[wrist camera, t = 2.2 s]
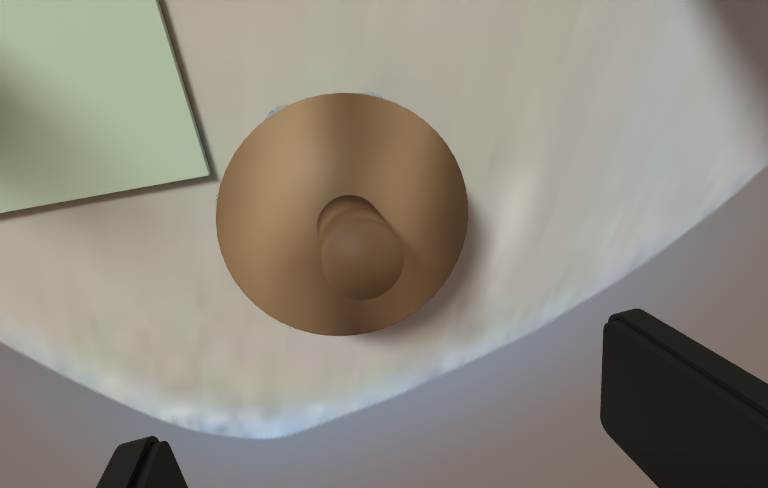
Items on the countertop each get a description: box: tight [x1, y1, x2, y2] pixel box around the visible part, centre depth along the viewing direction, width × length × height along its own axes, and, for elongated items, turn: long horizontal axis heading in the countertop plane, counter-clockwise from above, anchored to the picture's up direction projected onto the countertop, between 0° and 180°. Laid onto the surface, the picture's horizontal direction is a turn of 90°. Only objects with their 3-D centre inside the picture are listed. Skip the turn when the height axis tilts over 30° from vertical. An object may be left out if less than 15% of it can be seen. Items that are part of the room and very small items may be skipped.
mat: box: [0, 0, 211, 213], centre depth 21 cm, size 14×14×1 cm
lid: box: [216, 93, 468, 336], centre depth 19 cm, size 13×13×6 cm
